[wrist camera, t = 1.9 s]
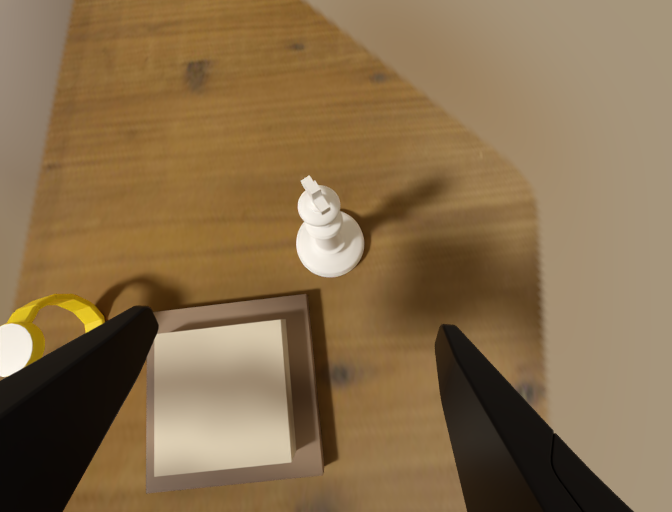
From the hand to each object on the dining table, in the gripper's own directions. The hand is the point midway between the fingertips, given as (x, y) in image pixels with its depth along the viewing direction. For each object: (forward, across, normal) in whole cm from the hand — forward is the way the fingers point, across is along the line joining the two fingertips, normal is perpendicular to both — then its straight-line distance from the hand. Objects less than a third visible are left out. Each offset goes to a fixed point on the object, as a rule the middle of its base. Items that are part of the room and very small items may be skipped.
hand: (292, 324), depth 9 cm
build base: (+5, +6, +12) cm, 14 cm away
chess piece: (+12, 0, +5) cm, 13 cm away
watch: (+7, +16, +10) cm, 20 cm away
